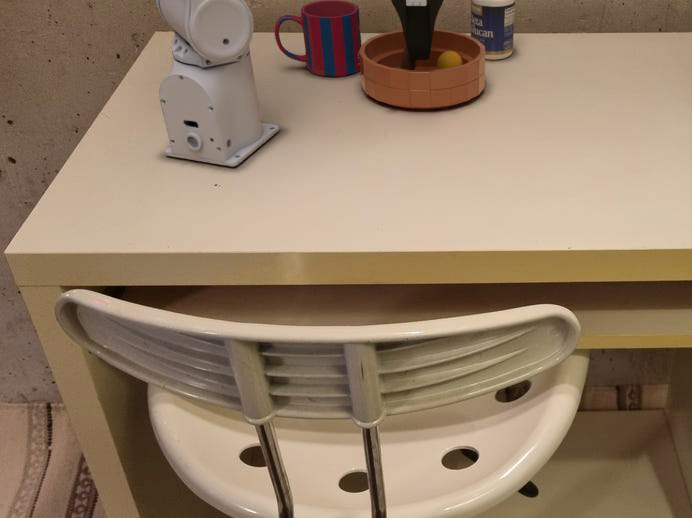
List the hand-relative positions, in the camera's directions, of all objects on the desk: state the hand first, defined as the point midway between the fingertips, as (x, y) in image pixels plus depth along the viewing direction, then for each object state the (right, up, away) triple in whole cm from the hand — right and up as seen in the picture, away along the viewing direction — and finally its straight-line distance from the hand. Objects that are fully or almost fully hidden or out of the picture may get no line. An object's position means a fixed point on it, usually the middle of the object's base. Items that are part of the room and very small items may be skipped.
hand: (419, 55), depth 93 cm
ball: (+3, +1, +5) cm, 6 cm away
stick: (-2, -2, +2) cm, 3 cm away
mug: (-13, +2, +10) cm, 16 cm away
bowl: (0, -2, +5) cm, 5 cm away
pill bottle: (+8, +6, +14) cm, 18 cm away
